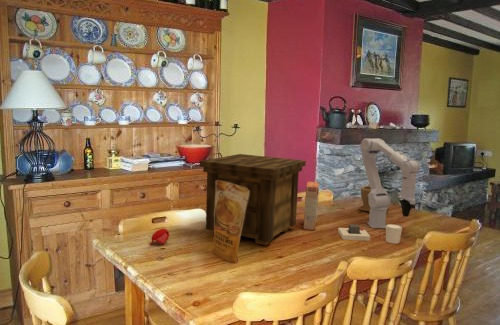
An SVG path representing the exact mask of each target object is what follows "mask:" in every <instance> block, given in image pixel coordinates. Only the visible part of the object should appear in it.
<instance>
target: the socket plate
mask: <svg viewBox="0 0 500 325" xmlns="http://www.w3.org/2000/svg"><path fill="white" fill-rule="evenodd" d="M348 232H349V227H338V228H337V233H338V234H339V236H340V237H341V239H342V240H345V241H362V242H364V241H365V242H366V241H367V242H371V236H370V234H369V233H368V232H367V230H366V229H364V228H363V227H360V234H349V233H348Z"/></svg>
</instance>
